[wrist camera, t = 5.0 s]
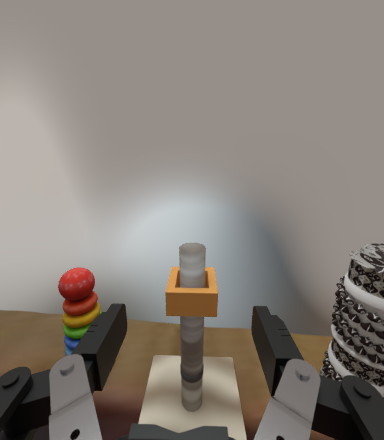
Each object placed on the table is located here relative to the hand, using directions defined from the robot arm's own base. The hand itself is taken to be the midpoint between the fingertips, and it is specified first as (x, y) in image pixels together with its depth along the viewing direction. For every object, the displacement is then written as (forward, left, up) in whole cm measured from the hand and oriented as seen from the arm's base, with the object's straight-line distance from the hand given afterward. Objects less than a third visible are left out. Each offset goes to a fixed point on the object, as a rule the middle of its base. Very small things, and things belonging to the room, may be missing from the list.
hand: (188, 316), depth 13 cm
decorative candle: (+21, -16, -26) cm, 37 cm away
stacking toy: (+8, +24, -26) cm, 36 cm away
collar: (+10, +5, -7) cm, 13 cm away
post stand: (+10, +5, -26) cm, 28 cm away
